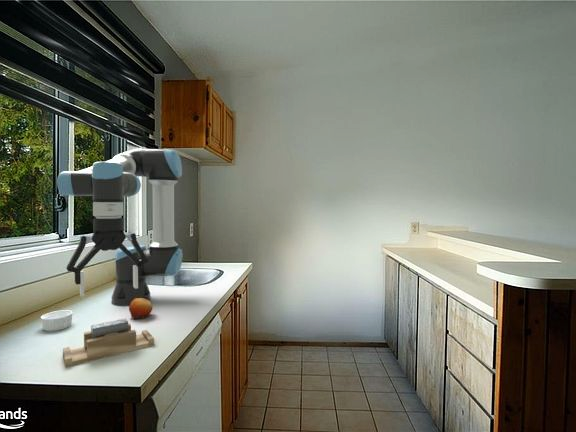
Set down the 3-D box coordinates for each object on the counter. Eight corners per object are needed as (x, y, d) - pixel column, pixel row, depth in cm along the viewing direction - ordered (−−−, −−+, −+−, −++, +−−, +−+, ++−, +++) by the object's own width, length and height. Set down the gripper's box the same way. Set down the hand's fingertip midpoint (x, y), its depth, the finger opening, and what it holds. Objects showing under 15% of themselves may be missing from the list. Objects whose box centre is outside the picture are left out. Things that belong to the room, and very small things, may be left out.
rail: (62, 355, 90) (62, 336, 90) (146, 335, 104) (146, 319, 104) (65, 367, 84) (64, 347, 84) (154, 344, 97) (154, 327, 97)
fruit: (124, 311, 122) (136, 292, 123) (143, 320, 125) (155, 301, 126) (122, 318, 114) (135, 298, 116) (143, 327, 117) (156, 307, 119)
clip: (91, 348, 92) (90, 325, 92) (126, 340, 98) (125, 318, 97) (92, 352, 90) (92, 328, 90) (128, 343, 95) (128, 321, 95)
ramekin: (52, 333, 105) (52, 320, 105) (34, 329, 108) (34, 316, 108) (79, 324, 113) (78, 311, 113) (61, 320, 116) (61, 308, 116)
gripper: (55, 219, 81) (57, 303, 83) (158, 216, 97) (159, 287, 98) (53, 217, 87) (55, 295, 89) (151, 215, 103) (151, 281, 104)
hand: (110, 291), depth 93 cm, fingers open, 13 cm apart
